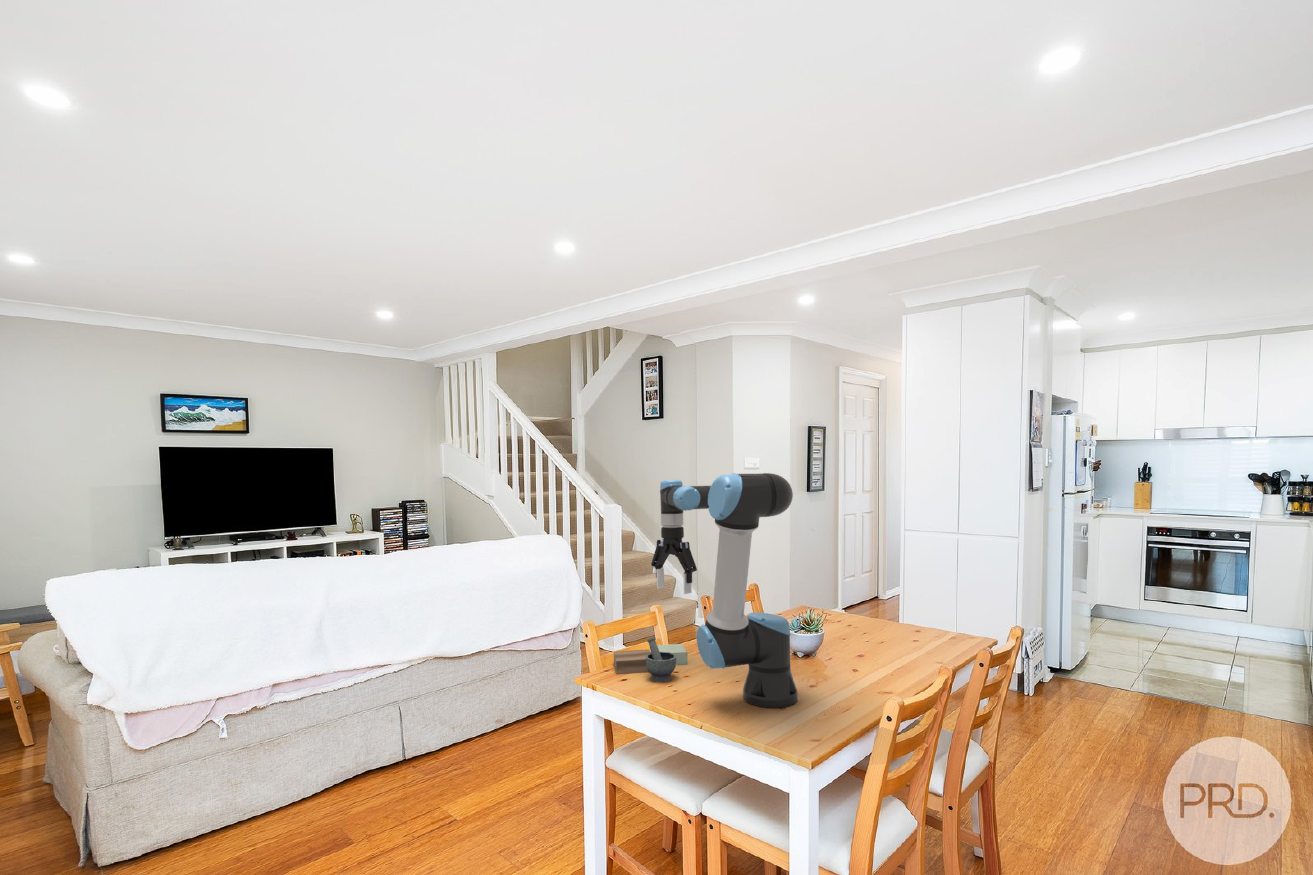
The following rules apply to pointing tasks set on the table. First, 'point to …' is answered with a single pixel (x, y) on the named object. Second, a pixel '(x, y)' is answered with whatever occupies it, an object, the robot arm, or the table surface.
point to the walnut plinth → (630, 661)
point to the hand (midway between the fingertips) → (673, 590)
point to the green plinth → (675, 652)
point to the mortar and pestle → (660, 662)
